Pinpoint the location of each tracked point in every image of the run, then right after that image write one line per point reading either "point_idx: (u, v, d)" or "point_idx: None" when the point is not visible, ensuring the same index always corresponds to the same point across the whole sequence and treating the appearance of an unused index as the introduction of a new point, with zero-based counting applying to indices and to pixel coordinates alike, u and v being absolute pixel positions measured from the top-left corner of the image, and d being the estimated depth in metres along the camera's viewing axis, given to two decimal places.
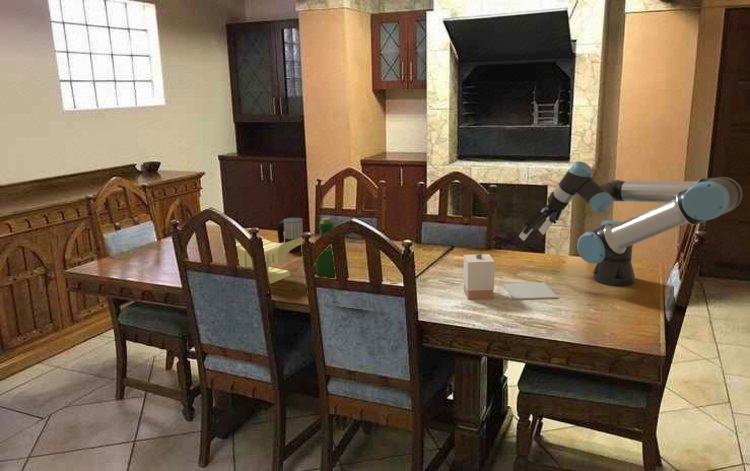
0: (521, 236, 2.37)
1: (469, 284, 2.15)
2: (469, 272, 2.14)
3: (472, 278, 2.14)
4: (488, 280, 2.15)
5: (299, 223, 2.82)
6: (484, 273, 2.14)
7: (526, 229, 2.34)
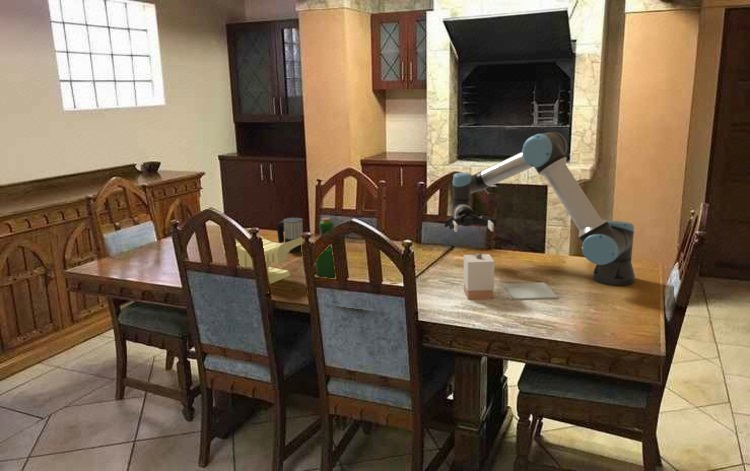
0: (454, 228, 2.26)
1: (469, 284, 2.15)
2: (469, 272, 2.14)
3: (472, 278, 2.14)
4: (488, 280, 2.15)
5: (299, 223, 2.82)
6: (484, 273, 2.14)
7: (450, 225, 2.31)
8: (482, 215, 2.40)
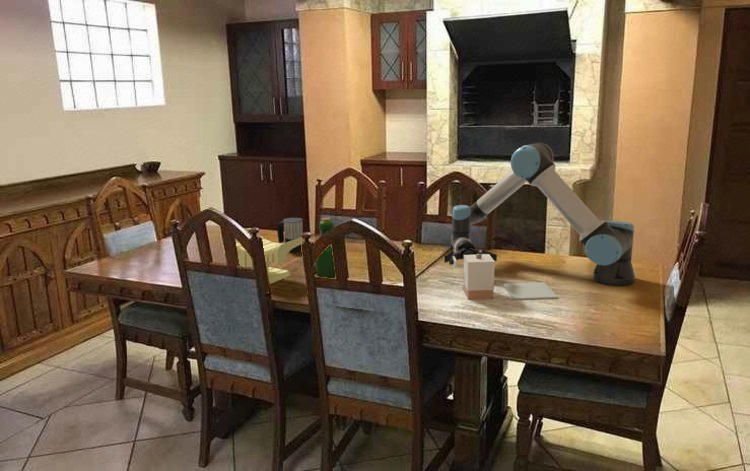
0: (454, 264, 2.25)
1: (469, 284, 2.15)
2: (469, 272, 2.14)
3: (472, 278, 2.14)
4: (488, 280, 2.15)
5: (299, 223, 2.82)
6: (484, 273, 2.14)
7: (449, 260, 2.30)
8: (482, 249, 2.39)
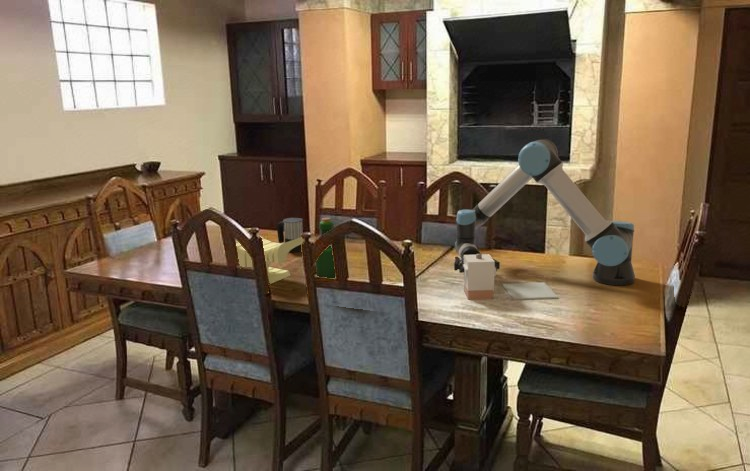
0: (465, 273, 2.15)
1: (469, 284, 2.15)
2: (469, 272, 2.14)
3: (472, 278, 2.14)
4: (488, 280, 2.15)
5: (299, 223, 2.82)
6: (484, 273, 2.14)
7: (460, 268, 2.19)
8: None
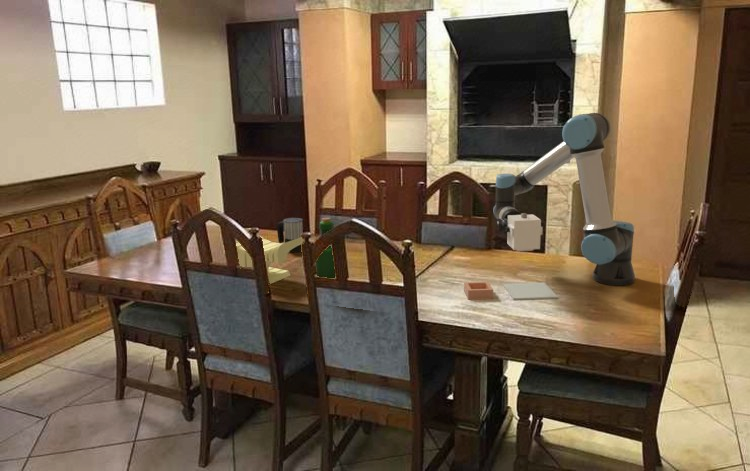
0: (511, 232, 2.14)
1: (515, 243, 2.14)
2: (515, 231, 2.12)
3: (518, 237, 2.13)
4: (534, 238, 2.13)
5: (299, 223, 2.81)
6: (530, 232, 2.13)
7: (505, 228, 2.18)
8: None
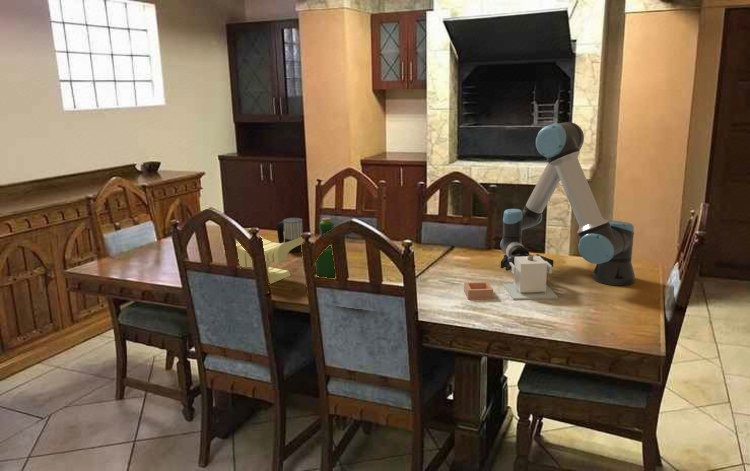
0: (513, 271, 2.18)
1: (521, 285, 2.17)
2: (522, 274, 2.16)
3: (525, 279, 2.17)
4: (540, 281, 2.17)
5: (299, 223, 2.81)
6: (536, 275, 2.17)
7: (506, 266, 2.22)
8: (537, 254, 2.32)
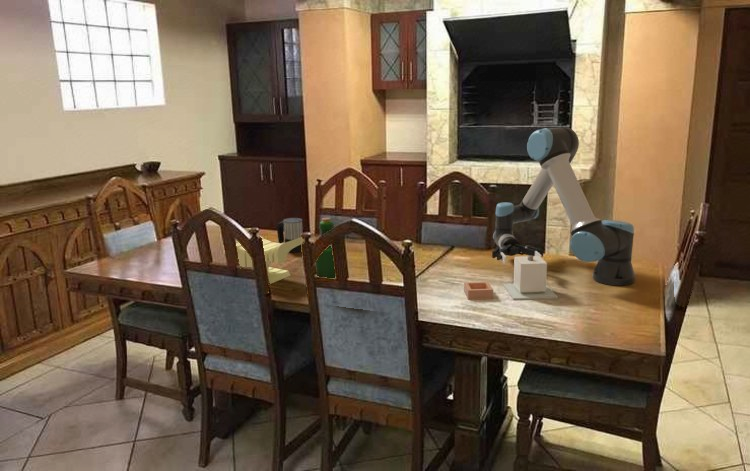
0: (503, 260, 2.31)
1: (521, 285, 2.17)
2: (522, 274, 2.16)
3: (525, 279, 2.17)
4: (540, 281, 2.17)
5: (299, 223, 2.81)
6: (536, 275, 2.17)
7: (498, 256, 2.35)
8: (527, 245, 2.45)
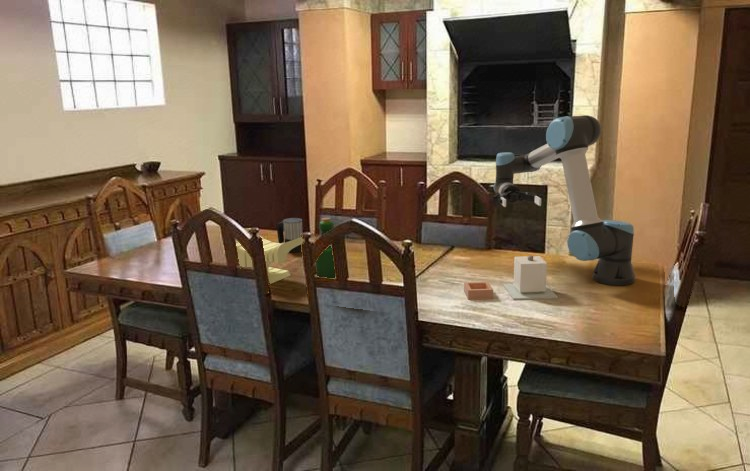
0: (503, 203, 2.33)
1: (521, 285, 2.17)
2: (522, 274, 2.16)
3: (525, 279, 2.17)
4: (540, 281, 2.17)
5: (298, 223, 2.81)
6: (536, 275, 2.17)
7: (498, 200, 2.37)
8: (527, 192, 2.47)
